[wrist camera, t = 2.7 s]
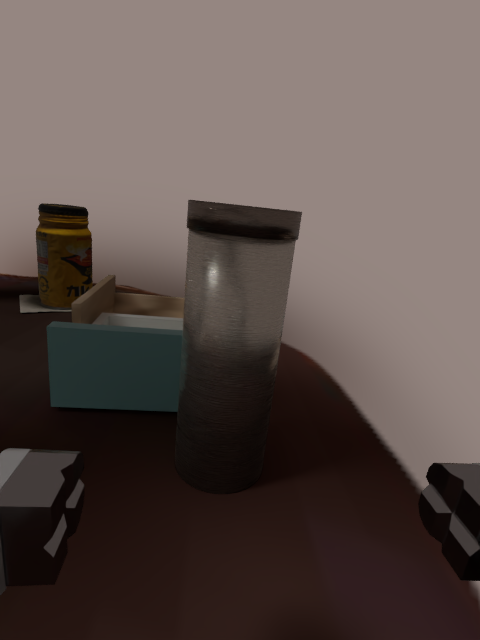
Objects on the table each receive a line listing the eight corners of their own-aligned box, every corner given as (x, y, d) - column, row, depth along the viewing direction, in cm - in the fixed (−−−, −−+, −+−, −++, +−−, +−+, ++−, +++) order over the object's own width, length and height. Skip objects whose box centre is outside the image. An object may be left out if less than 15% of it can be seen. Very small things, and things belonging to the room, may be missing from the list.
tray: (51, 406, 24) (46, 326, 22) (102, 337, 36) (102, 282, 34) (199, 412, 25) (205, 337, 23) (200, 344, 37) (204, 291, 36)
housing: (73, 359, 31) (71, 303, 30) (108, 316, 43) (108, 274, 42) (213, 367, 33) (218, 314, 31) (210, 324, 45) (214, 283, 43)
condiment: (100, 310, 46) (99, 209, 42) (20, 314, 41) (12, 202, 38) (90, 295, 51) (88, 206, 48) (19, 297, 47) (12, 199, 44)
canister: (168, 494, 18) (185, 199, 14) (176, 432, 23) (190, 200, 19) (271, 496, 19) (316, 213, 15) (257, 435, 24) (288, 210, 20)
